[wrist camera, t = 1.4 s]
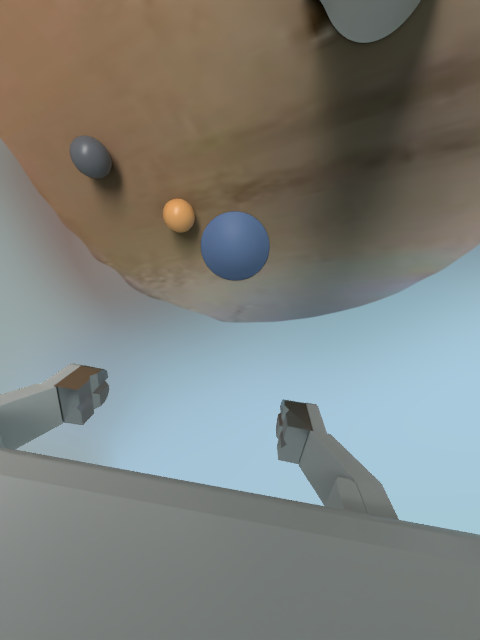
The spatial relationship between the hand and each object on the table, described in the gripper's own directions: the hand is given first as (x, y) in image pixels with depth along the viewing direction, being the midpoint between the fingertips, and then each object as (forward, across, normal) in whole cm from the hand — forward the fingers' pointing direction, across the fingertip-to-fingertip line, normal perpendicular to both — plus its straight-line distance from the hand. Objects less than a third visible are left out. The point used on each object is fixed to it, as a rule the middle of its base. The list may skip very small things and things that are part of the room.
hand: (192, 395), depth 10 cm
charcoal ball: (+32, +26, -15) cm, 44 cm away
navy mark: (+40, +3, -4) cm, 41 cm away
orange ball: (+35, +13, -8) cm, 38 cm away
